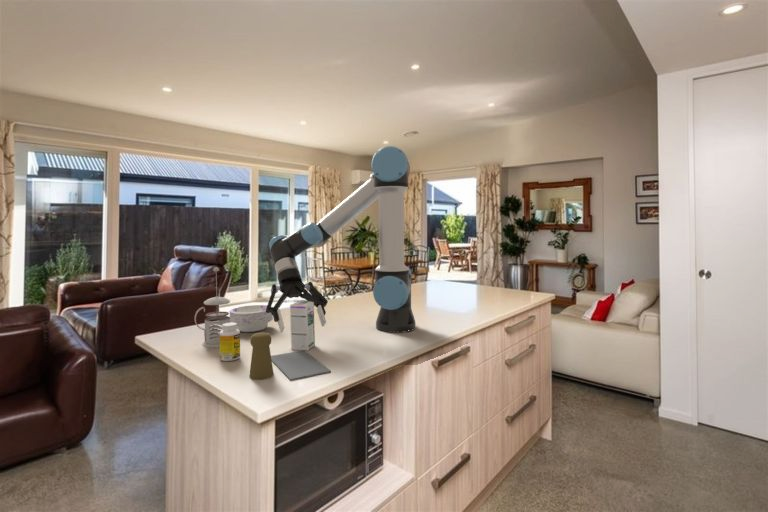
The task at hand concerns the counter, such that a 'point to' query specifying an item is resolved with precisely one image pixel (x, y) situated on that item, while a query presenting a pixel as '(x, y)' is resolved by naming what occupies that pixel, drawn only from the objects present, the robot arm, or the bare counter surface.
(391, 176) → the robot arm
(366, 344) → the counter surface
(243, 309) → the white bowl
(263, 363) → the olive pawn
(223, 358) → the supplement bottle
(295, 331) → the syrup box
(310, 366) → the mat
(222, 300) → the french press
